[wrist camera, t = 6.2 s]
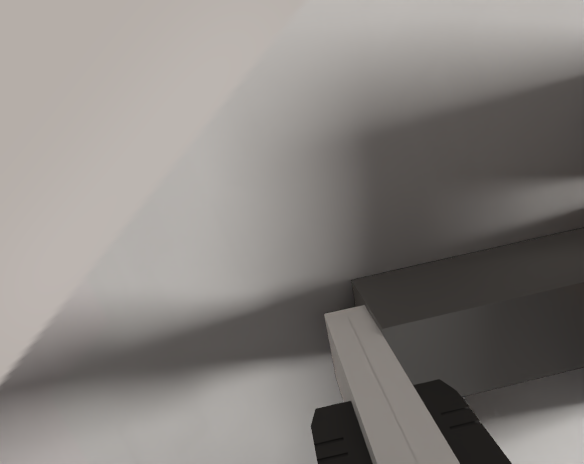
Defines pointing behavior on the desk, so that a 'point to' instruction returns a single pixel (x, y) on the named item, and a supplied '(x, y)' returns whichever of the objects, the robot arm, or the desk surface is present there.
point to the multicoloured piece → (485, 314)
